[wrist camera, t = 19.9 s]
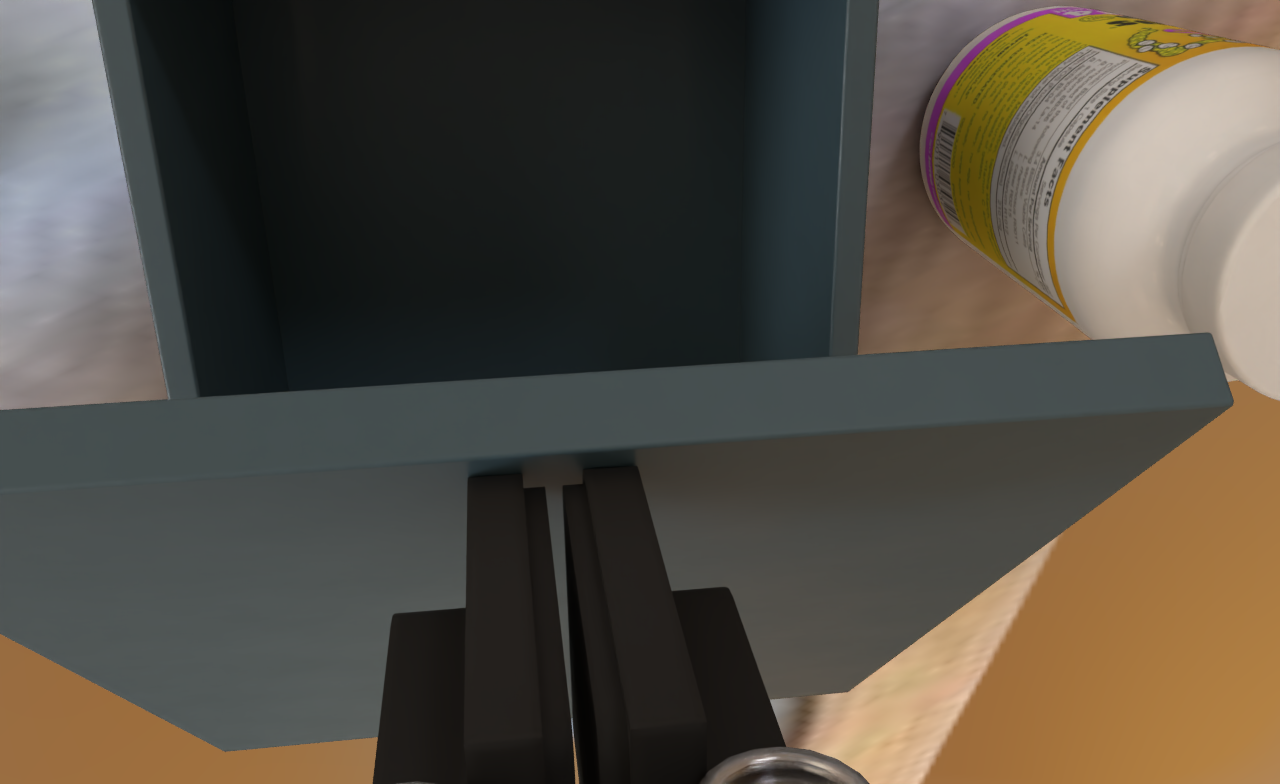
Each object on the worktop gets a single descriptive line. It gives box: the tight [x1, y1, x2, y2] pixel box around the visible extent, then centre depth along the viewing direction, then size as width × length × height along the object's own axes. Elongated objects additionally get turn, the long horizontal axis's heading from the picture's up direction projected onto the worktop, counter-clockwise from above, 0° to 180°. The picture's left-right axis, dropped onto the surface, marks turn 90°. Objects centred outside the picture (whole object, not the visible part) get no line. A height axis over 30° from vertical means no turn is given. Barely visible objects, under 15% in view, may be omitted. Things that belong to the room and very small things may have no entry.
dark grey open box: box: [92, 0, 879, 399], centre depth 27 cm, size 15×13×9 cm
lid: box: [0, 332, 1234, 752], centre depth 18 cm, size 16×13×1 cm
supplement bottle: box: [920, 6, 1280, 401], centre depth 26 cm, size 7×7×13 cm
